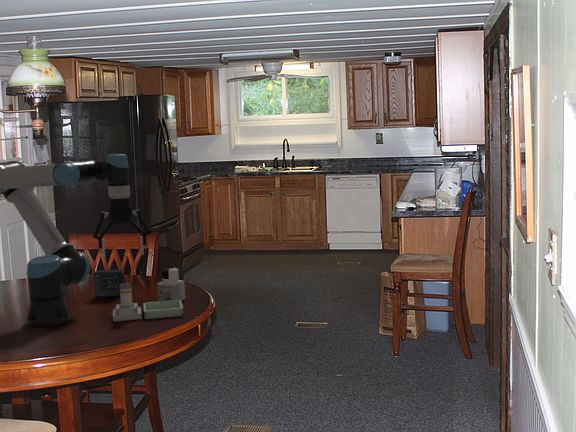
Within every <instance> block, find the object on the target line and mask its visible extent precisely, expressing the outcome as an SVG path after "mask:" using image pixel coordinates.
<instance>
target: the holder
mask: <svg viewBox="0 0 576 432" xmlns="http://www.w3.org/2000/svg"><path fill="white" fill-rule="evenodd" d="M142 319H143V318H142V307H141V306H138V302H132V307H129V308H121V303H120V304H119V303H117V304H116V305H115V308H114V309H113V310H112V321H113V322H123V321H134V320H142Z"/></svg>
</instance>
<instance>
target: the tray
mask: <svg viewBox="0 0 576 432" xmlns="http://www.w3.org/2000/svg"><path fill="white" fill-rule="evenodd" d="M142 306H143V316H144V320H152V319H153V320H154V319H164V317H165V318H172V317H173V318H175V317H184V316H185V311H184V305H183V302H182V301H181V300H170V301H159V302H158V301H149V302H143V305H142Z"/></svg>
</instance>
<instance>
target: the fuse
mask: <svg viewBox="0 0 576 432" xmlns="http://www.w3.org/2000/svg"><path fill="white" fill-rule="evenodd" d="M119 287H120V297H119V298H120V304H121V308H129V307H132V303H133V297H132V296H133V294H132V283H130V282H129V283H128V282H126V283H125V282H124V284H120V285H119Z"/></svg>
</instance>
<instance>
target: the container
mask: <svg viewBox="0 0 576 432" xmlns="http://www.w3.org/2000/svg"><path fill="white" fill-rule="evenodd" d="M179 278H180V277H179V269H178V268H176V267H165V268H163V269H162V270H161V281H160V282H157V283H156V288H157V289H156V291H157V302H159V301H170V300H181V302H182V301H185V299H186V293H185V291H186V290H185V281H184V280H181V279H179Z"/></svg>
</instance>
